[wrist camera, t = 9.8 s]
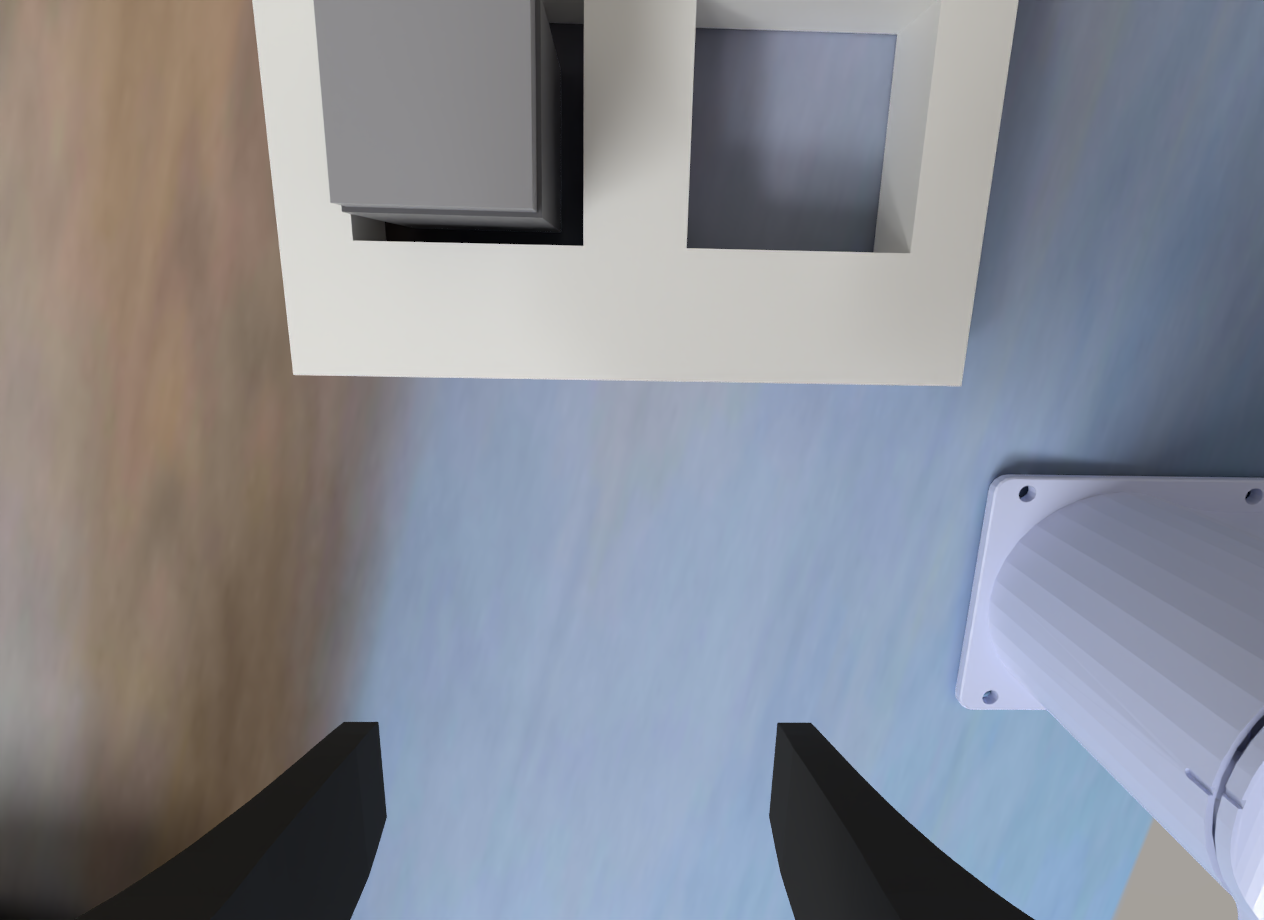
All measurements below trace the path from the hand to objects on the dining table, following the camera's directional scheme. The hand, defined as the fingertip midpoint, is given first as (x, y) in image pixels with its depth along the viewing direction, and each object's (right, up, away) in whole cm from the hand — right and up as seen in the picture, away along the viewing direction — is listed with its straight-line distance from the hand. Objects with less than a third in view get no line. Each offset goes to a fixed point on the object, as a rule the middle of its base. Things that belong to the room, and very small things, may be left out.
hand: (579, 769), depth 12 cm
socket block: (+1, +14, +6) cm, 15 cm away
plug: (-3, +14, +6) cm, 15 cm away
